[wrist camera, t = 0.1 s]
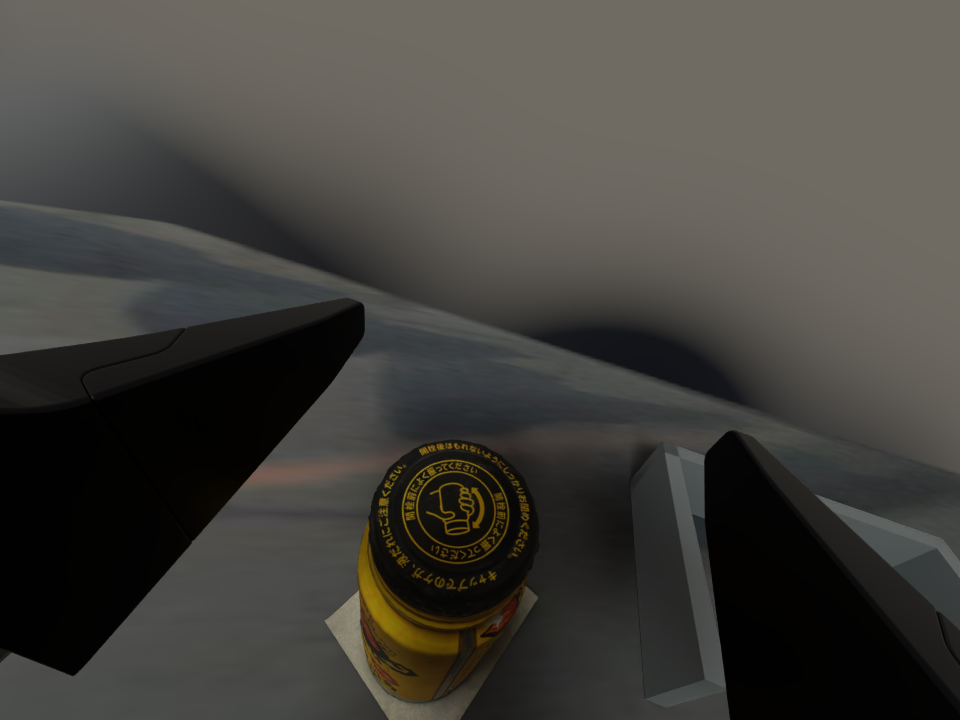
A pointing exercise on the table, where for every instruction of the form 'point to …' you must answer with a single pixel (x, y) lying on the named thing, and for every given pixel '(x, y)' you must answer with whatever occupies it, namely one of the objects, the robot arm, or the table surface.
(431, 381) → the table surface
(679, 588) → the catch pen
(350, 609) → the condiment
